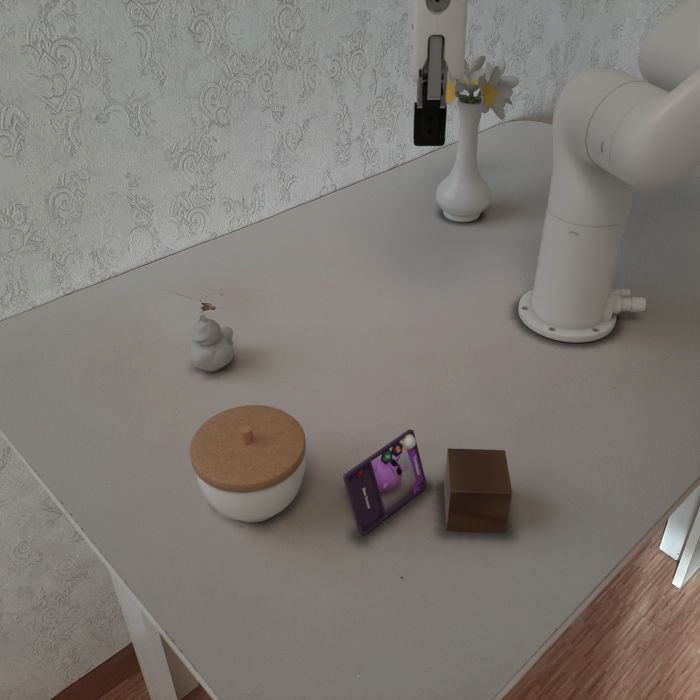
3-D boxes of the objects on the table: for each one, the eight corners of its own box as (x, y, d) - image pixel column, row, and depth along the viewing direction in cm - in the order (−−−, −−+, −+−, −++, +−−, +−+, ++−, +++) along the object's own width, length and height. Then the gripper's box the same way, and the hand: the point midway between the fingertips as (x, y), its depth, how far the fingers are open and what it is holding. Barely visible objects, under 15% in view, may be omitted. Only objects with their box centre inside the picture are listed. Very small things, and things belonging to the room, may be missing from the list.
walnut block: (498, 489, 72) (505, 449, 68) (505, 533, 67) (512, 493, 64) (443, 487, 72) (447, 447, 69) (446, 531, 67) (450, 491, 64)
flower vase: (511, 196, 126) (530, 47, 111) (483, 243, 112) (501, 80, 97) (440, 185, 130) (449, 39, 115) (405, 229, 117) (411, 70, 102)
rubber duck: (180, 369, 88) (170, 315, 83) (217, 343, 92) (209, 290, 87) (213, 384, 85) (204, 330, 80) (249, 356, 90) (242, 303, 85)
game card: (350, 479, 64) (418, 430, 69) (315, 464, 68) (382, 419, 73) (367, 539, 66) (432, 488, 71) (333, 521, 70) (396, 474, 75)
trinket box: (205, 463, 75) (192, 395, 69) (307, 456, 76) (302, 387, 70) (196, 546, 66) (180, 476, 61) (311, 537, 67) (306, 467, 61)
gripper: (489, -46, 57) (471, 172, 68) (472, -71, 69) (459, 118, 80) (395, -44, 57) (392, 172, 68) (394, -69, 69) (392, 118, 80)
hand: (428, 142), depth 74 cm, fingers closed
